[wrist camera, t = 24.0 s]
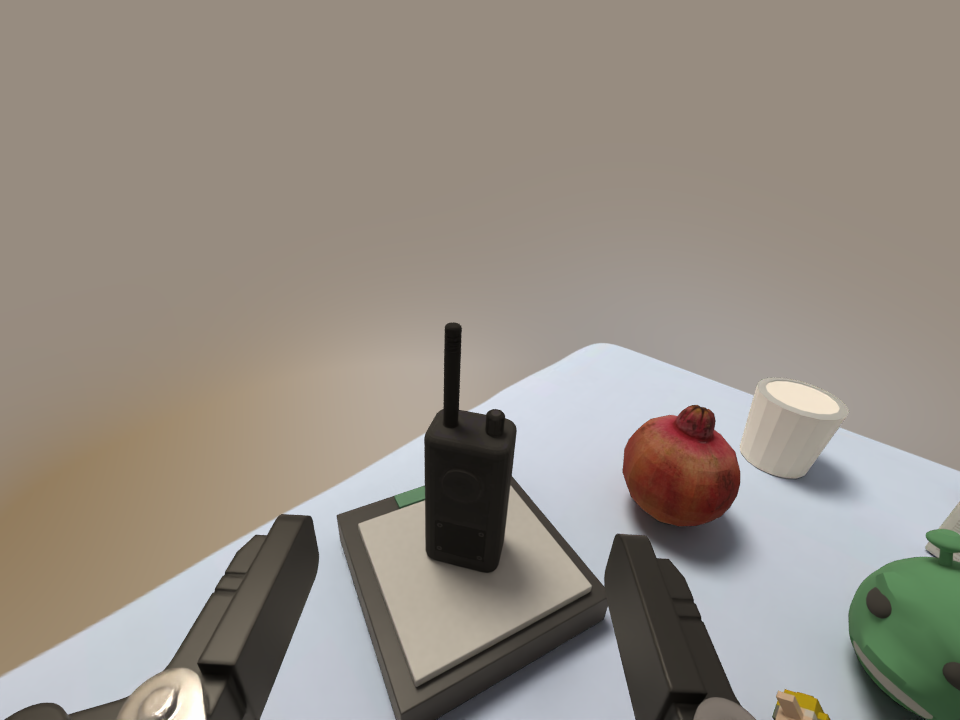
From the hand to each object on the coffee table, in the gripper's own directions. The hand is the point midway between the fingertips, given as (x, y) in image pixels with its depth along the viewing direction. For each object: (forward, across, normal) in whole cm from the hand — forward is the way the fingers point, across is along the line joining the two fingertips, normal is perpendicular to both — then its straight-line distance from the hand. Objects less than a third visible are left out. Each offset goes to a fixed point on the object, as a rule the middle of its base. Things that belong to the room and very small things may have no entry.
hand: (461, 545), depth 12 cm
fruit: (+18, -16, +17) cm, 29 cm away
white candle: (+25, -28, +17) cm, 42 cm away
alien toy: (+6, -24, +17) cm, 30 cm away
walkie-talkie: (+11, 0, +14) cm, 17 cm away
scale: (+11, 0, +16) cm, 20 cm away
